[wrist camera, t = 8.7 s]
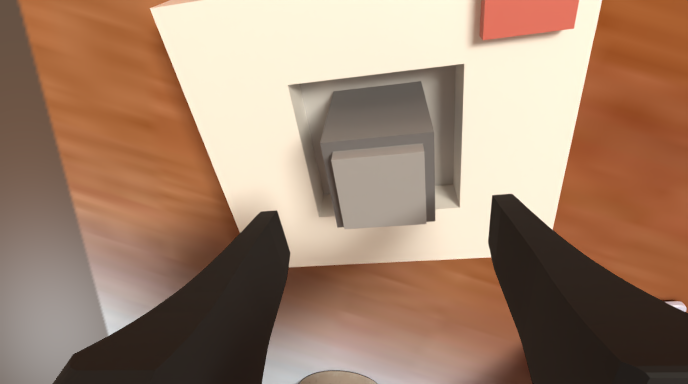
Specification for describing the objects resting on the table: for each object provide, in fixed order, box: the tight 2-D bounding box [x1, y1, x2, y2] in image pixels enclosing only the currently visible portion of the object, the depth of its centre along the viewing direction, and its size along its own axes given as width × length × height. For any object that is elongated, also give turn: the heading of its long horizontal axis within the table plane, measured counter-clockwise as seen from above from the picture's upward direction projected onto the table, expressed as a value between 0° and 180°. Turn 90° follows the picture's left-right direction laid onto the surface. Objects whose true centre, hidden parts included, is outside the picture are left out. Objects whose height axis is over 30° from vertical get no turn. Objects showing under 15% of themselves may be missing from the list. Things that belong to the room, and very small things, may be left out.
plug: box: [320, 81, 435, 229], centre depth 16 cm, size 4×4×6 cm
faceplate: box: [150, 0, 602, 267], centre depth 18 cm, size 14×16×3 cm
